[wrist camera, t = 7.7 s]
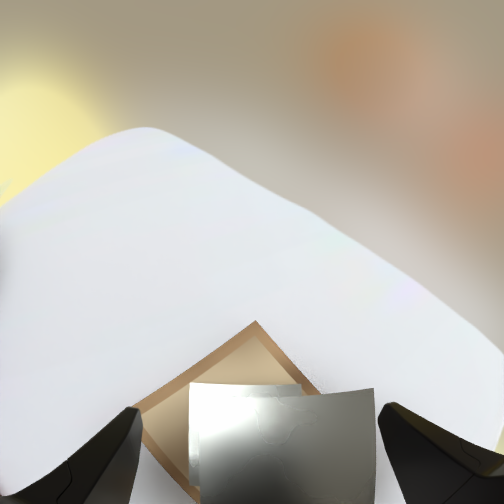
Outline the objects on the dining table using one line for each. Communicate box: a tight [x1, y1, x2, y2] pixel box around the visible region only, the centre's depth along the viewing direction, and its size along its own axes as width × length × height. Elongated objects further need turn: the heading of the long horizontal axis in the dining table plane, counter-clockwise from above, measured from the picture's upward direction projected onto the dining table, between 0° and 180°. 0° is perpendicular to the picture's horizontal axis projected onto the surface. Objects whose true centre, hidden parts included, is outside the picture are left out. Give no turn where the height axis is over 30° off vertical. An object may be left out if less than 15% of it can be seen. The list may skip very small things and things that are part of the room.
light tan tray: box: [132, 320, 321, 504], centre depth 16 cm, size 11×11×3 cm
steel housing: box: [189, 383, 376, 504], centre depth 10 cm, size 6×6×11 cm
